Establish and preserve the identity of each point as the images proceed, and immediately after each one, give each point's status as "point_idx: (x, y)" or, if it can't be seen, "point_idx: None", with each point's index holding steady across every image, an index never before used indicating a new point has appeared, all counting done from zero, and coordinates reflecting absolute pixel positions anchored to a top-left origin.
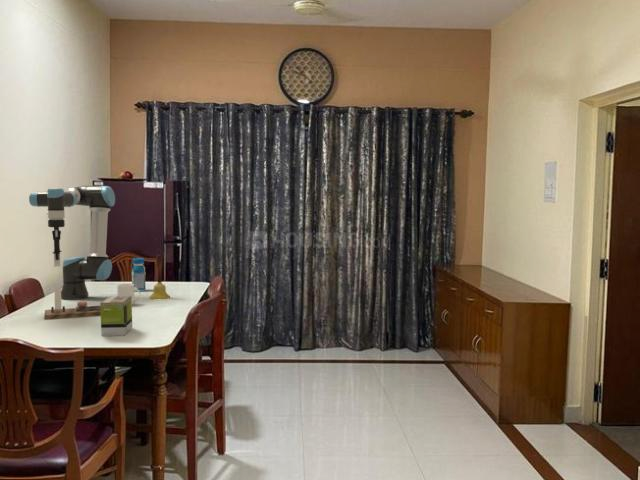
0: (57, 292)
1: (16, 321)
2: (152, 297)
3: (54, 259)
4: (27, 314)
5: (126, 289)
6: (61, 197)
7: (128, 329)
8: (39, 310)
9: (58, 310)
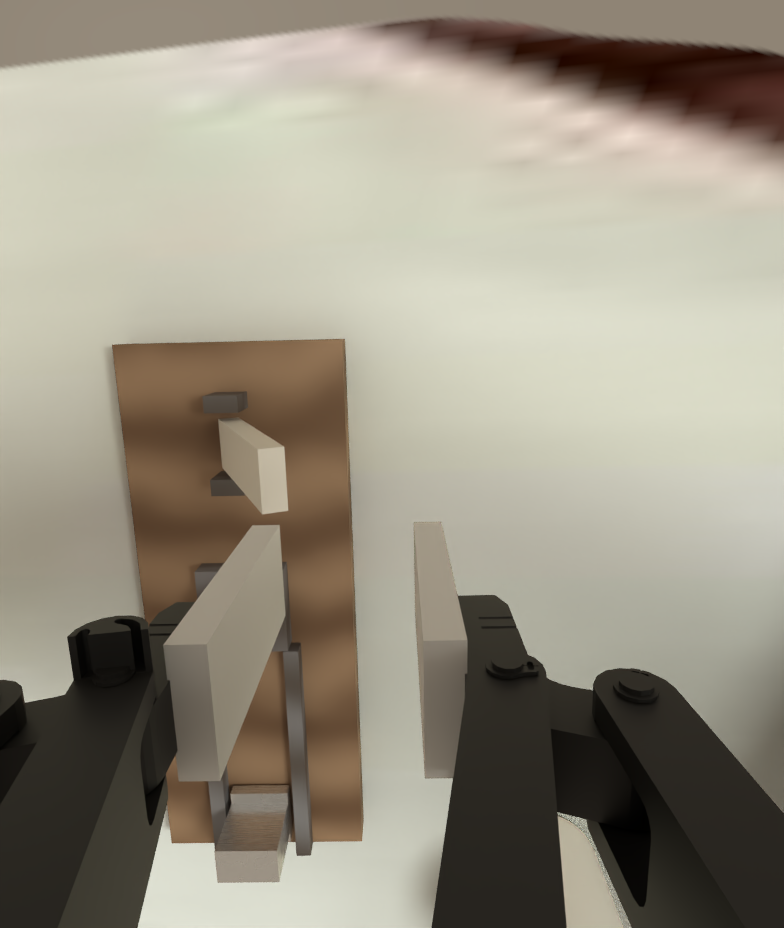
0: (247, 468)
1: (98, 143)
2: None
3: (215, 582)
4: (369, 203)
5: None
6: None
7: None
8: (517, 286)
9: (286, 440)
